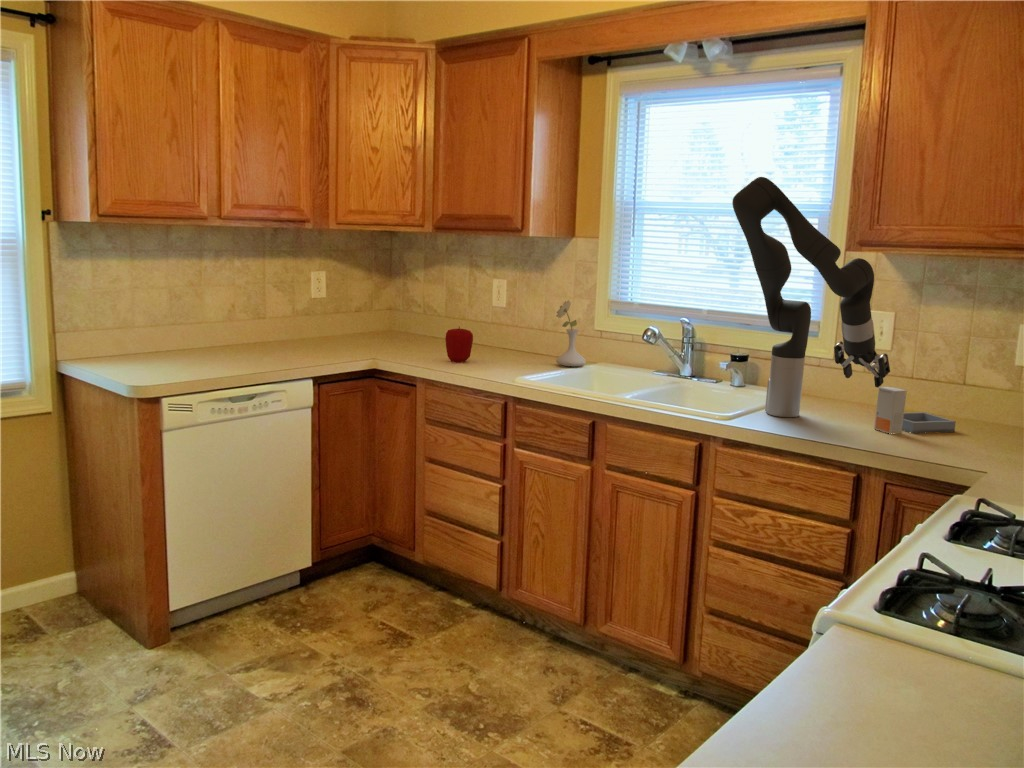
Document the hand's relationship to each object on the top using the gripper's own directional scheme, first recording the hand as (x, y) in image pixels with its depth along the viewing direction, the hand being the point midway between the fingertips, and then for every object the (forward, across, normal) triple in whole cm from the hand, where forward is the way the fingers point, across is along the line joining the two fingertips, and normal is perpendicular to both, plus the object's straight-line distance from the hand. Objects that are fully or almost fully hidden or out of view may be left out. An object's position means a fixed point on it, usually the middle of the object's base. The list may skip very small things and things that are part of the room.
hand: (863, 380), depth 232 cm
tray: (+24, +6, +12) cm, 28 cm away
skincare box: (+18, +4, +2) cm, 18 cm away
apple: (+16, -146, -38) cm, 152 cm away
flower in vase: (+30, -119, -9) cm, 123 cm away
